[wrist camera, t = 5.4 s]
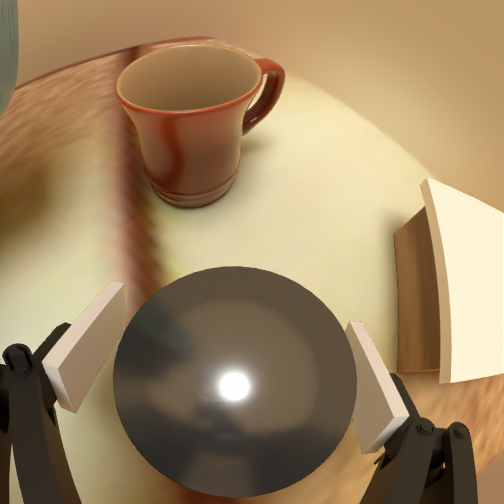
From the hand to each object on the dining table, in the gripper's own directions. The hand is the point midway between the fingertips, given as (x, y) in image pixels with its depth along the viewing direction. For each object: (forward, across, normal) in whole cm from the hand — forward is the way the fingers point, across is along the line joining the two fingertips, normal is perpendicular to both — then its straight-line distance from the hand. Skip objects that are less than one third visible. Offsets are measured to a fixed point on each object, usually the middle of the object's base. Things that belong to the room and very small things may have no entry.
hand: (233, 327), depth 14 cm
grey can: (+1, 0, -5) cm, 5 cm away
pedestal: (+6, +19, 0) cm, 20 cm away
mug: (+13, -4, +6) cm, 15 cm away
